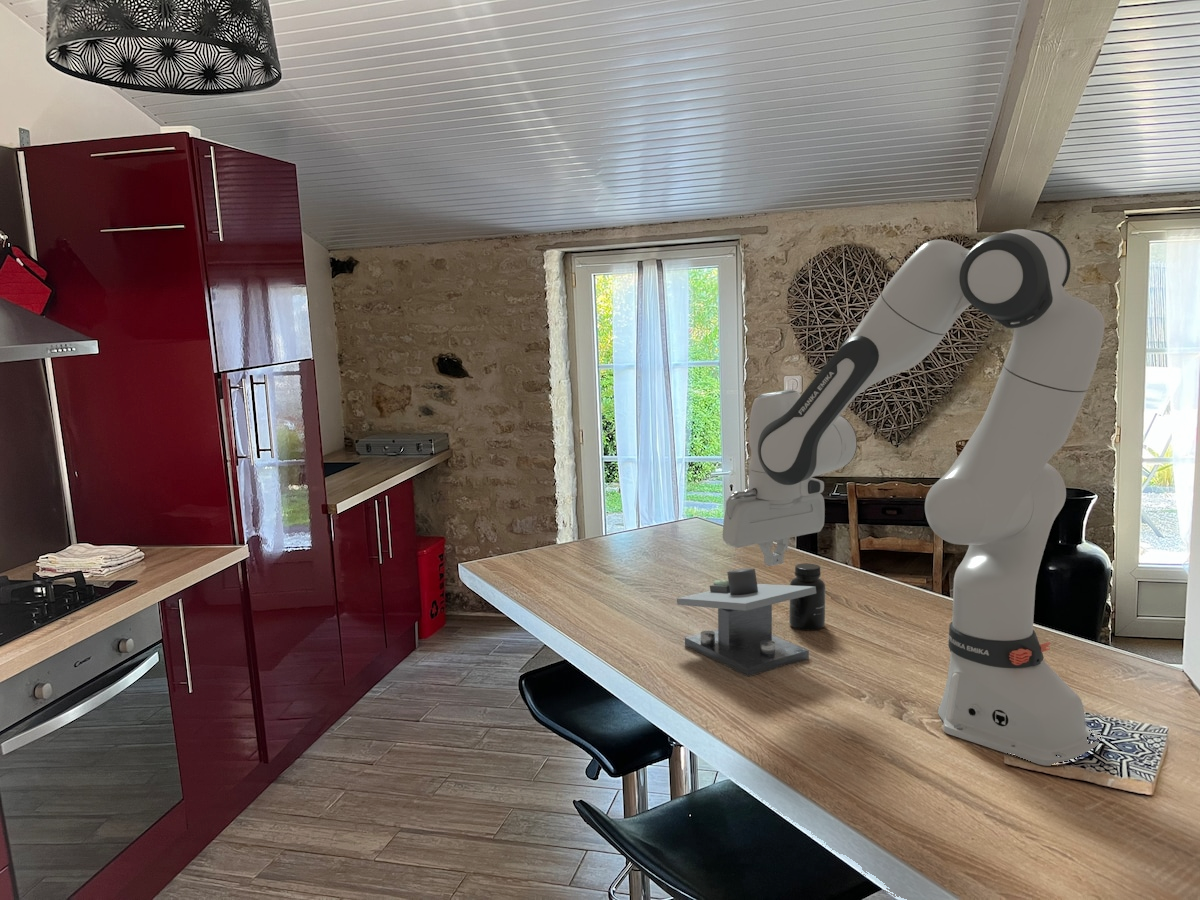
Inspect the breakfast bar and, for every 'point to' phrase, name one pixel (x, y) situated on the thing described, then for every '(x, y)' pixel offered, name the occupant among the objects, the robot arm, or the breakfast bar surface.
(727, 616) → the stand
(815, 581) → the supplement bottle
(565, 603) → the breakfast bar surface
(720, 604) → the plate
